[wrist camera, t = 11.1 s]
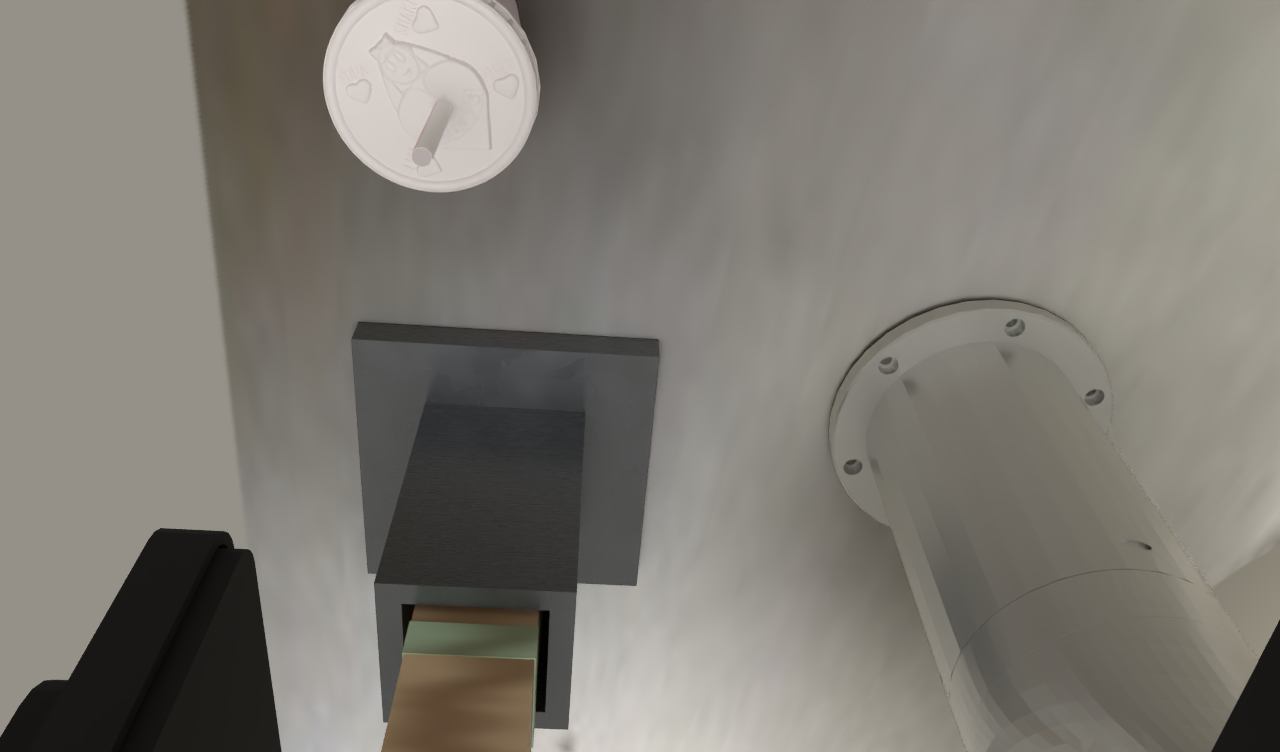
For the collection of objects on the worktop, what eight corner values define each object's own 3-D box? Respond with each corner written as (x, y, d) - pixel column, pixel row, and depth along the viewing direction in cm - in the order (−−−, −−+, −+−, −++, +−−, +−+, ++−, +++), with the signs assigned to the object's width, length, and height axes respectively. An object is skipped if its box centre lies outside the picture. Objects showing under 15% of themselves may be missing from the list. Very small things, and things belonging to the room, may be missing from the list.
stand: (658, 339, 47) (670, 530, 36) (636, 565, 54) (640, 783, 43) (358, 322, 47) (277, 510, 36) (373, 552, 54) (309, 771, 42)
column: (549, 512, 43) (509, 963, 28) (545, 595, 46) (506, 1055, 30) (436, 506, 43) (331, 958, 27) (438, 591, 46) (343, 1051, 30)
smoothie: (475, 134, 43) (419, 297, 31) (345, 13, 40) (229, 139, 28) (590, 18, 40) (578, 145, 28) (461, -118, 38) (388, -41, 26)
